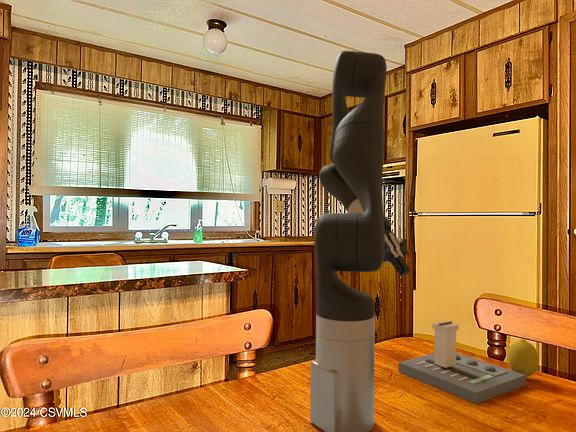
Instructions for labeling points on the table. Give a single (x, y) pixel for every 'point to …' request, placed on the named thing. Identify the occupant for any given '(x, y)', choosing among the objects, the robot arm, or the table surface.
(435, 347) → the fader knob
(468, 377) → the console
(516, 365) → the lemon
